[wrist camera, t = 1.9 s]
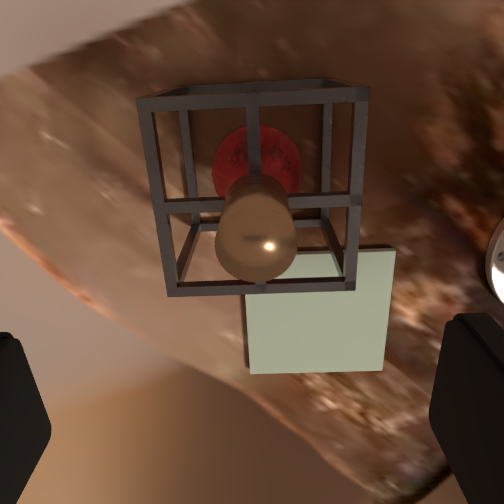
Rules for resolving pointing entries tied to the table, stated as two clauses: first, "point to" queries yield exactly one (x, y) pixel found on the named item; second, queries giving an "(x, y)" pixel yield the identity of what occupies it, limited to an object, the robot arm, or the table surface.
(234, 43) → the table surface
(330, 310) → the mat
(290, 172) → the onion
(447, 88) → the table surface
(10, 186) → the table surface
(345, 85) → the dark grey metal frame
